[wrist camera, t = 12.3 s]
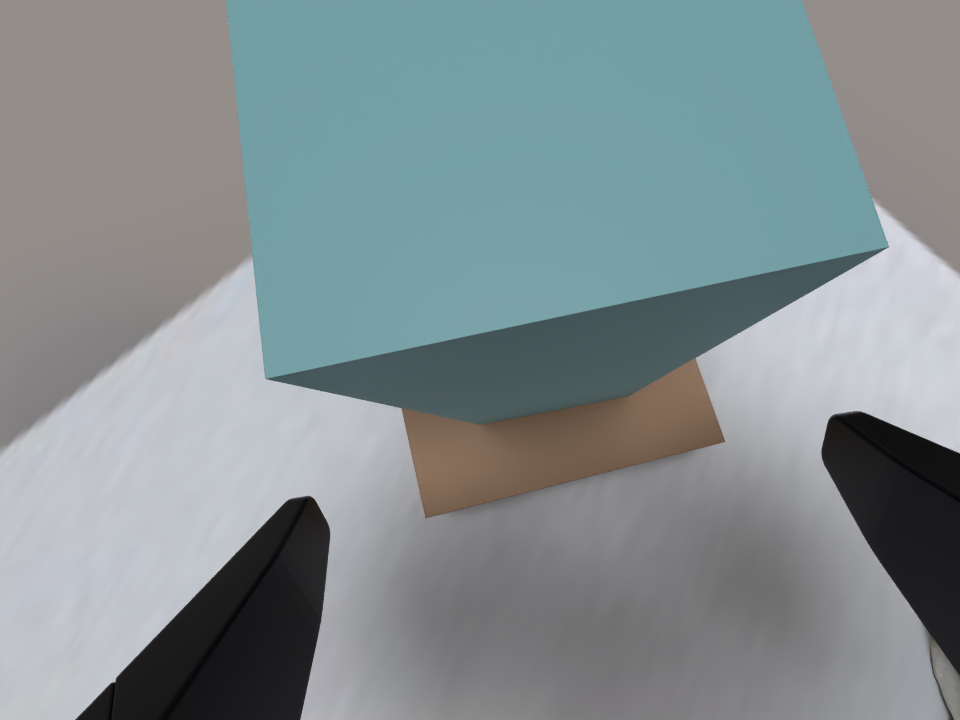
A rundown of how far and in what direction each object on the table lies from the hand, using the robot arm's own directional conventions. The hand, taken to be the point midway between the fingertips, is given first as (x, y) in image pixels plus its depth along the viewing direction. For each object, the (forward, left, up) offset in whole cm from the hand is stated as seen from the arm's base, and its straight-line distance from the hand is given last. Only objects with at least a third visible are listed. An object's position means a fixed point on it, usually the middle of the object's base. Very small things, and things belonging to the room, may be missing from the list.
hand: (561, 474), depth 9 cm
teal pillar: (+2, -4, -8) cm, 9 cm away
